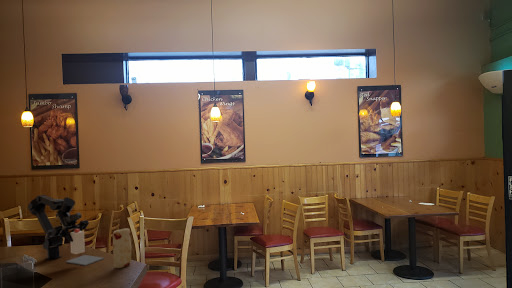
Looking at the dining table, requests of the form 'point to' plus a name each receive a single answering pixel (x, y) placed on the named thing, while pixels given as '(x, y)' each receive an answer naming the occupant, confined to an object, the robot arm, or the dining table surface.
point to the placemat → (84, 260)
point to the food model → (122, 248)
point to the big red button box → (77, 242)
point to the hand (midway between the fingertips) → (77, 240)
